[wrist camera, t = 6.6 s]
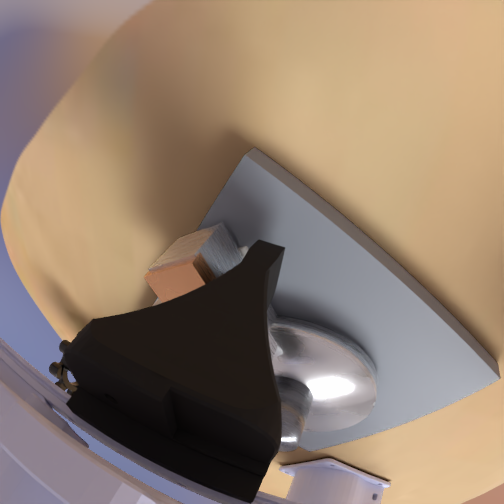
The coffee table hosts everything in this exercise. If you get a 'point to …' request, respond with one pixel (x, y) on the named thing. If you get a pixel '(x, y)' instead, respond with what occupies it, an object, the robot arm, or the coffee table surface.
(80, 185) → the coffee table surface
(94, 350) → the robot arm
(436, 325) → the board
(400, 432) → the coffee table surface
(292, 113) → the coffee table surface
